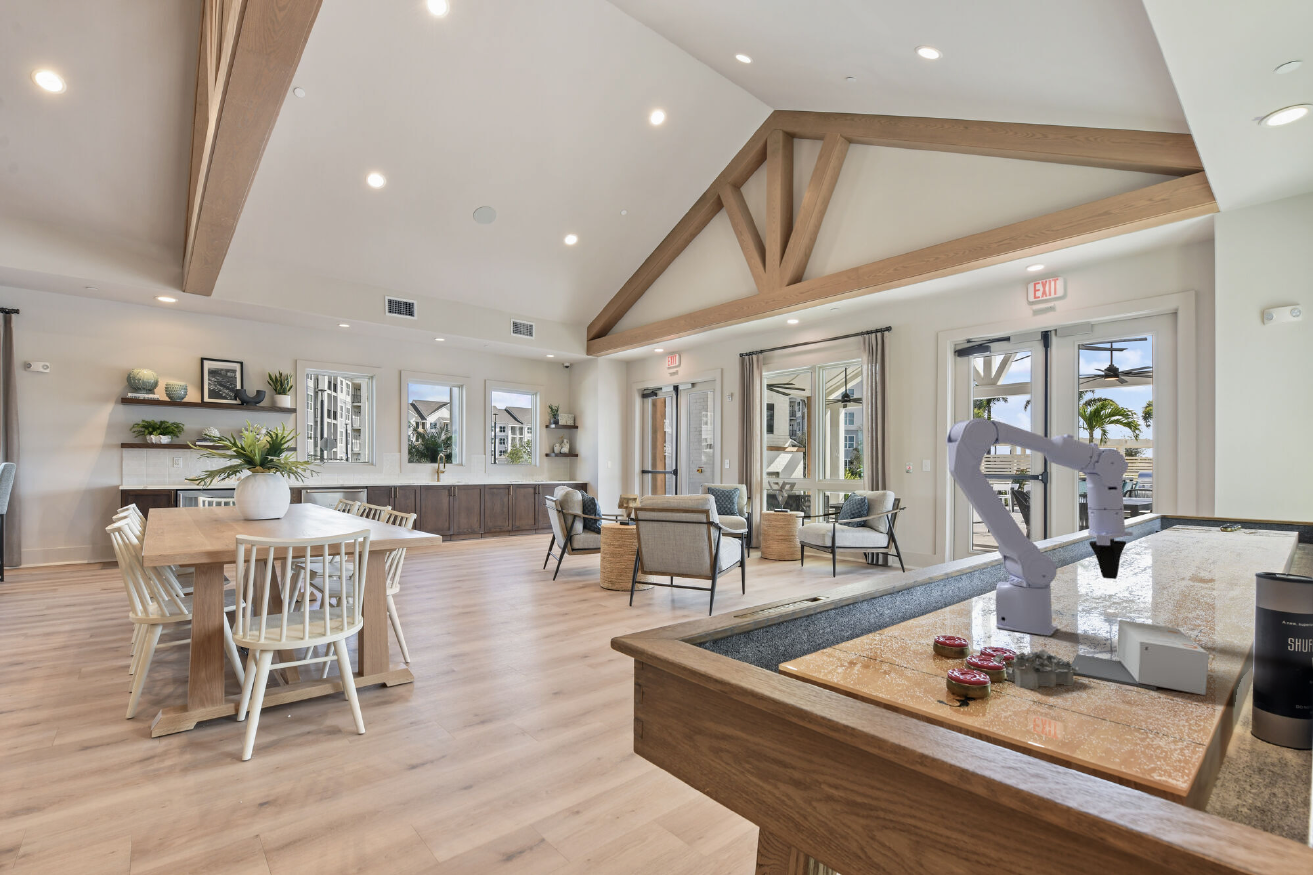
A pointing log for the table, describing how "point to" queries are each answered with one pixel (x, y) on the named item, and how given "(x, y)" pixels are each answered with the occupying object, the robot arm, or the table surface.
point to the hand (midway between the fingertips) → (1109, 577)
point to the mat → (1105, 670)
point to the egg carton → (1038, 670)
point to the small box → (1162, 657)
